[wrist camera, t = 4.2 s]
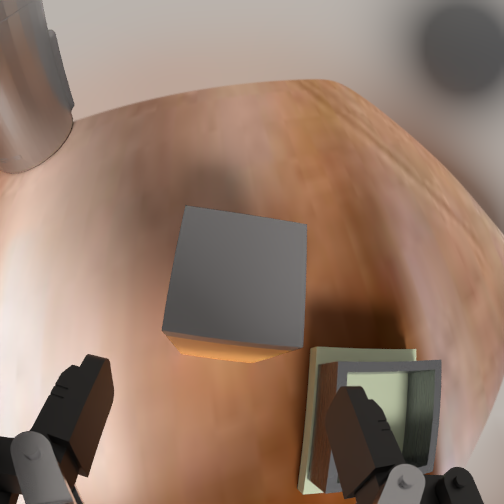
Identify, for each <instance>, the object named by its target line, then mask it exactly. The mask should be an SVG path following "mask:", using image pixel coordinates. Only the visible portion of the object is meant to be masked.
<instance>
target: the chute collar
mask: <svg viewBox="0 0 504 504" xmlns="http://www.w3.org/2000/svg"><path fill="white" fill-rule="evenodd" d="M398 373H408V392H407V409H406V422H405V433H404V442H403V450H402V455H403V457H404V460H405V462H406V463H407V464H410V465H413V466H415V467H417V468H418V469H419V470H420V471H421V472H422V473H423V474H425V473H429V472H432V471H433V466H434V459H435V452H436V445H437V436H438V426H439V414H440V398H441V360H427V361H399V362H349V361H336V362H331V363H325V364H318V374H317V389H316V402H315V414H314V425H313V435H312V445H311V454H310V462H309V471H308V478H307V479H308V480H309V481H310V482H312V483H313V484H314V485H315V486H316V487H318V488H319V489H320V490H321V491H323V492H324V493H334V492H342V488H341V484H340V481H339V477H338V473H337V469H336V465H335V462H334V458H333V454H332V450H331V447H330V443H329V439H328V436H327V432H326V428H325V416H326V413H327V411H328V409H329V407H330V405H331V403H332V401H333V399H334V397H335V395H336V393H337V391H338V390H339V388H340V387H342V386H347V374H398Z"/></svg>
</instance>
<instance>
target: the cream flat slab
mask: <svg viewBox="0 0 504 504" xmlns="http://www.w3.org/2000/svg"><path fill="white" fill-rule="evenodd" d="M336 361H349V362H399V361H416V349H359V348H335V347H314V348H310V364H309V379H308V393H307V405H306V417H305V428H304V438H303V447H302V456H301V465H300V473H299V481H298V488H297V489H298V490H299V491H300V492H301V493H302V494H314V493H324V492H323V491H321V490H320V489H319V488H318V487H316V486H315V485H314V484H313V483H312V482H310V481H309V480H308V479H307V478H308V471H309V462H310V454H311V445H312V435H313V425H314V414H315V402H316V389H317V374H318V364H325V363H331V362H336ZM347 386H361V387H363V389H364V390H365V393H366V395H367V397H368V399H373V400H374V401H375V402H376V403H377V404H378V405H379V406H380V407H381V408H382V410H383V412H384V414H385V416H386V419H387V422H388V423H389V425H390V427H391V431H392V432H393V434H394V436H395V439H396V441H397V443H398V446H399V448H400V450H401V453H402V450H403V442H404V433H405V422H406V409H407V392H408V373H398V374H347Z"/></svg>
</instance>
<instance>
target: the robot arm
mask: <svg viewBox="0 0 504 504" xmlns="http://www.w3.org/2000/svg"><path fill="white" fill-rule="evenodd" d="M73 107H74V102H73V98H72V95H71V92H70V88H69V85H68V81H67V78H66V74H65V71H64V67H63V63H62V59H61V55H60V51H59V47H58V43H57V38H56V34H55V32H54V31H53V30H48V28H47V23H46V19H45V14H44V9H43V3H42V0H0V170H2V171H3V172H6V173H11V174H12V173H20V172H24V171H27V170H29V169H31V168H34V167H36V166H37V165H39V164H41V163H42V162H44V161H45V160H46V159H48V158H49V157H50V156H51V155H53V154H54V153H55V152H56V151H57V150H58V149H59V148H60V146H61V145H62V144H63V142H64V141H65V140H66V138H67V136H68V135H69V133H70V130H71V127H72V123H73V118H72V114H71V110H72V108H73ZM113 398H114V386H113V380H112V373H111V367H110V361H109V359H107V358H102V357H98V356H94V355H90V354H87V355H86V357H85V358H84V360H83V362H82V364H81V365H80V367H79V366H75V365H71V366H70V367H69V368H68V369H66V370H65V371H64V372H62V373H61V375H60V377H59V379H58V380H57V382H56V385H55V386H54V387H53V389H52V391H51V394H50V395H49V396H48V398H47V400H46V402H45V404H44V406H43V408H42V410H41V411H40V413H39V415H38V417H37V419H36V421H35V423H34V425H33V427H32V428H31V430H30V431H26V432H22V433H20V434H18V435H17V436H16V437H15V438H7V437H1V436H0V504H16V503H17V500H18V496H19V494H22V495H23V497H24V500H25V503H26V504H84V502H83V500H82V498H81V496H80V494H79V491H78V489H77V487H76V485H75V482H76V479H77V476H78V474H79V475H82V476H85V477H88V475H89V472H90V469H91V465H92V462H93V459H94V456H95V453H96V450H97V447H98V444H99V441H100V438H101V435H102V432H103V429H104V426H105V423H106V420H107V417H108V414H109V412H110V409H111V406H112V403H113ZM325 428H326V432H327V436H328V439H329V443H330V447H331V450H332V454H333V458H334V462H335V465H336V469H337V473H338V477H339V481H340V484H341V488H342V492H343V496H344V499H347V498H353V497H356V501H357V503H356V504H484V503H483V501H482V499H481V496H480V493H479V491H478V489H477V486H476V484H475V482H474V480H473V477H472V476H471V474H470V473H469V472H468V471H467V470H466V469H464V468H461V467H454V468H451V469H450V470H448V471H447V472H446V473H445V474H444V475H424V474H423V473H422V472H421V471H420V470H419V469H418V468H417V467H415V466H413V465H410V464H407V463H406V462H405V460H404V457H403V455H402V453H401V450H400V448H399V446H398V443H397V441H396V439H395V436H394V434H393V432H392V431H391V427H390V425H389V423H388V422H387V419H386V416H385V414H384V412H383V410H382V408H381V407H380V406H379V405H378V404H377V403H376V402H375V401H374V400H373V399H368V397H367V395H366V393H365V390H364V389H363V387H361V386H342V387H340V388H339V390H338V391H337V393H336V395H335V397H334V399H333V401H332V403H331V405H330V407H329V409H328V411H327V413H326V416H325Z"/></svg>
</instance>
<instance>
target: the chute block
mask: <svg viewBox="0 0 504 504" xmlns="http://www.w3.org/2000/svg"><path fill="white" fill-rule="evenodd" d="M306 257H307V224H301V223H296V222H290V221H284V220H278V219H272V218H266V217H260V216H253V215H247V214H241V213H234V212H228V211H221V210H214V209H208V208H201V207H194V206H187V205H186V206H185V210H184V215H183V219H182V224H181V228H180V233H179V238H178V243H177V247H176V252H175V257H174V263H173V268H172V273H171V278H170V284H169V289H168V295H167V301H166V307H165V313H164V319H163V326H162V331H163V332H164V334H165V335H166V336H167V337H168V339H169V340H170V341H171V342H172V343H173V345H174V346H175V347H176V348H177V349H178V351H179V352H180V353H181V354H185V355H192V356H198V357H206V358H213V359H221V360H230V361H239V362H248V363H254V362H258V361H261V360H264V359H268V358H271V357H274V356H278V355H281V354H284V353H287V352H290V351H293V350H297V349H300V348H303V338H304V318H305V293H306Z"/></svg>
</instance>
